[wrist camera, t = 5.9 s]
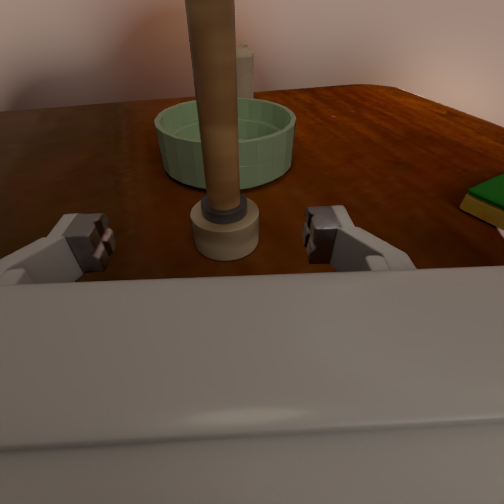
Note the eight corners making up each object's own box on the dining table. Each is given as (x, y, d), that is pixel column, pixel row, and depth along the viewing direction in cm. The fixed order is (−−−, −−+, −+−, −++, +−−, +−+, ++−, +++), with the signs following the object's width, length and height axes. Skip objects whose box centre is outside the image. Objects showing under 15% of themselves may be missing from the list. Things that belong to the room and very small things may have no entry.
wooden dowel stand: (181, 240, 29) (129, -24, 17) (227, 214, 32) (211, -22, 20) (225, 271, 26) (202, -26, 13) (271, 238, 29) (284, -24, 17)
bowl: (138, 163, 41) (126, 117, 37) (229, 130, 51) (227, 90, 47) (227, 211, 32) (223, 157, 29) (316, 160, 42) (323, 114, 38)
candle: (238, 109, 59) (236, 48, 53) (221, 103, 63) (217, 44, 56) (258, 103, 62) (259, 45, 56) (241, 98, 65) (240, 42, 59)
